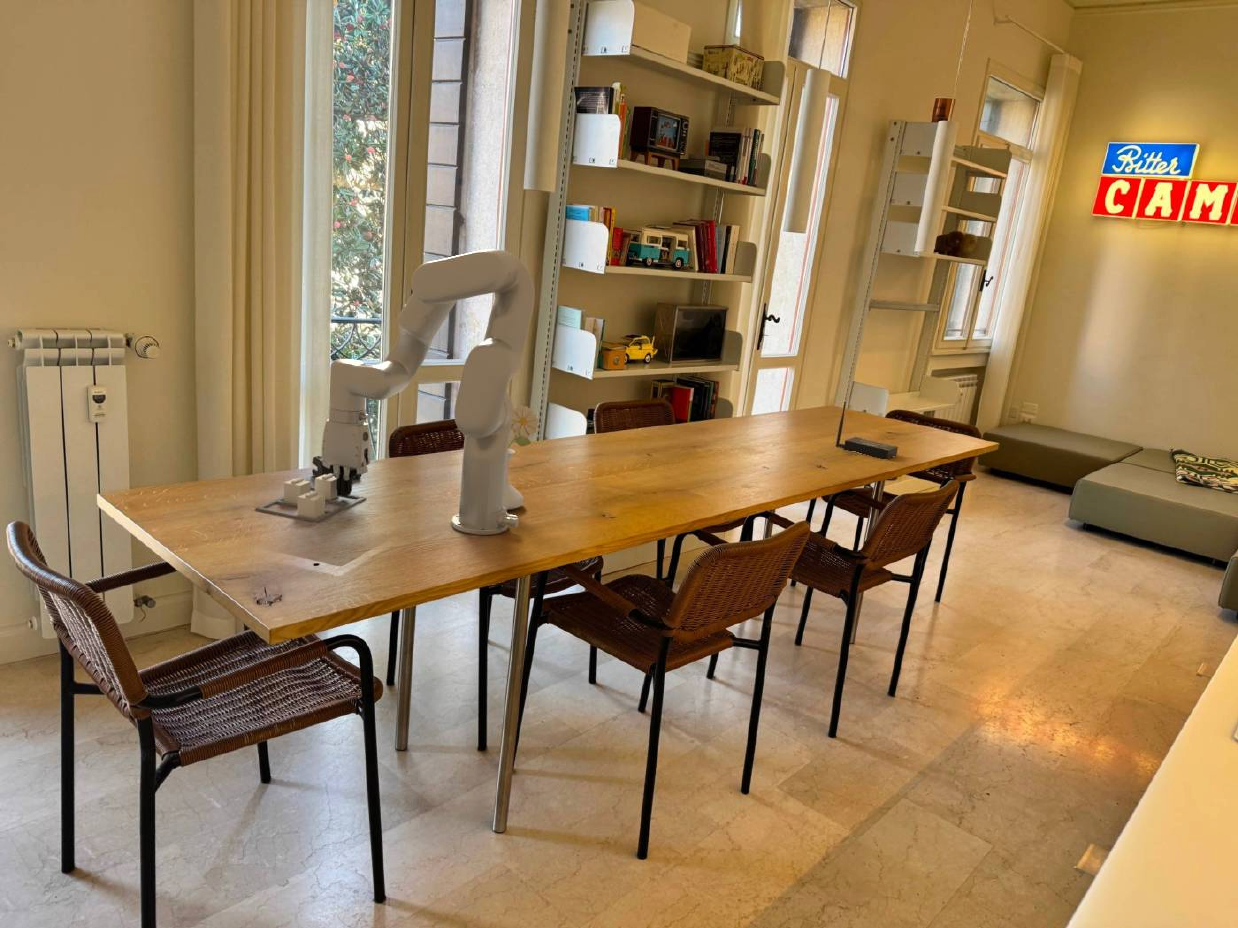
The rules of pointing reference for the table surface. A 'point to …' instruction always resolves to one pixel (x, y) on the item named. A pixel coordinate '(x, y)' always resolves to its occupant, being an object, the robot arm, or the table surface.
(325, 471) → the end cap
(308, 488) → the cream block with ridge
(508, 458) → the flower in vase
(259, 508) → the switch bank
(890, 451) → the wireless controller
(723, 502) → the table surface
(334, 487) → the cream block with bar
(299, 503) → the cream block
